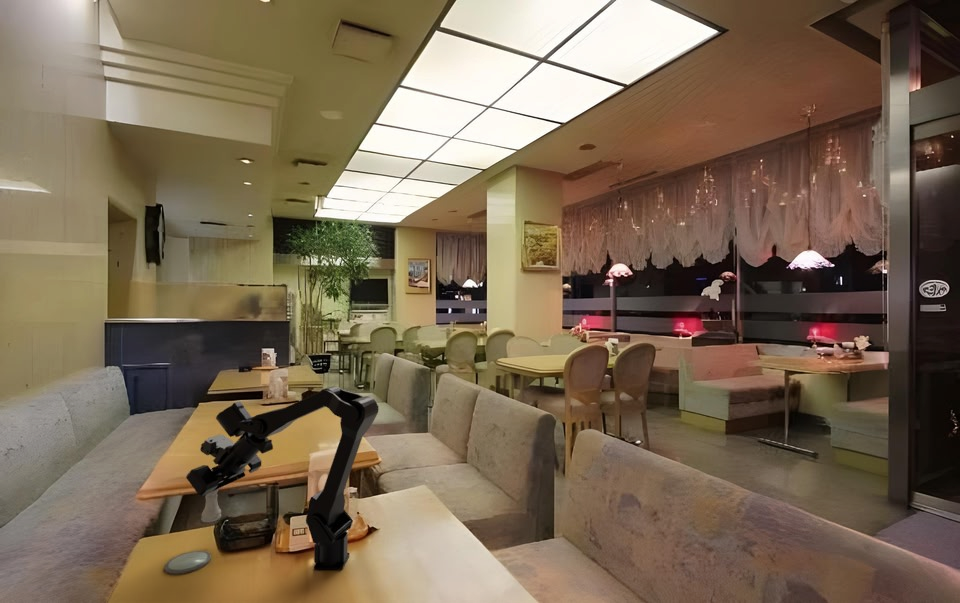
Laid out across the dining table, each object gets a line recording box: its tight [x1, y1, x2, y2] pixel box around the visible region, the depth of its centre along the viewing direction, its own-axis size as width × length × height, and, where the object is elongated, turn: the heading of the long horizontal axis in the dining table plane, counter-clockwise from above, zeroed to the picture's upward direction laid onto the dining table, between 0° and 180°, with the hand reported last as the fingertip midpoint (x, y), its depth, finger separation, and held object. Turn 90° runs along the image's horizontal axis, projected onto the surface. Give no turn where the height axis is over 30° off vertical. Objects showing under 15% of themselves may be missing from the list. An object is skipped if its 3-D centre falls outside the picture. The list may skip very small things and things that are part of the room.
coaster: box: [164, 550, 212, 576], centre depth 105 cm, size 9×9×1 cm
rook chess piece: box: [200, 488, 222, 523], centre depth 114 cm, size 4×4×8 cm
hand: (207, 491), depth 115 cm, fingers closed on rook chess piece, 3 cm apart
